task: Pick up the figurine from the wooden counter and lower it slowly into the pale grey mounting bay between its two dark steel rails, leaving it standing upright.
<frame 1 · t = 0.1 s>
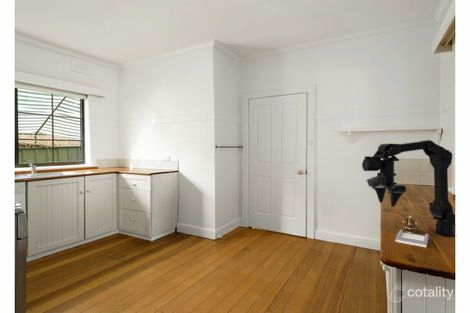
hand: (386, 204, 121), 15 cm above the table, tool pointing down, fingers open, 9 cm apart
figurine: (410, 232, 126), on the table
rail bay: (412, 240, 115), on the table
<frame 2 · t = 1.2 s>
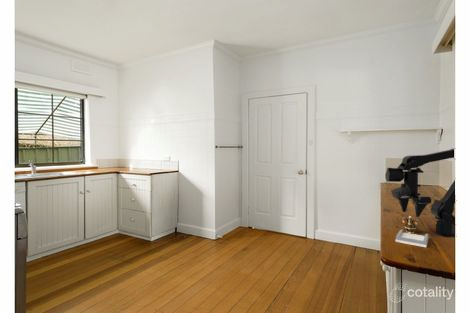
hand: (410, 214, 126), 9 cm above the table, tool pointing down, fingers open, 9 cm apart
nothing on the table moved.
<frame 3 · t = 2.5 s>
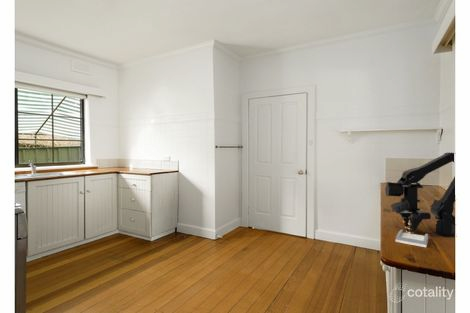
hand: (410, 229, 126), 2 cm above the table, tool pointing down, fingers closed on figurine, 5 cm apart
figurine: (410, 232, 126), on the table, touching gripper
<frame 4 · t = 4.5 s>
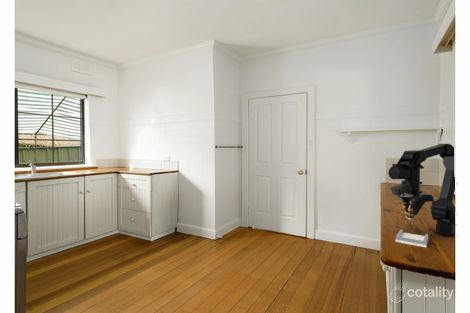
hand: (411, 213, 117), 11 cm above the table, tool pointing down, fingers closed on figurine, 4 cm apart
figurine: (410, 218, 118), point 9 cm above the table, touching gripper
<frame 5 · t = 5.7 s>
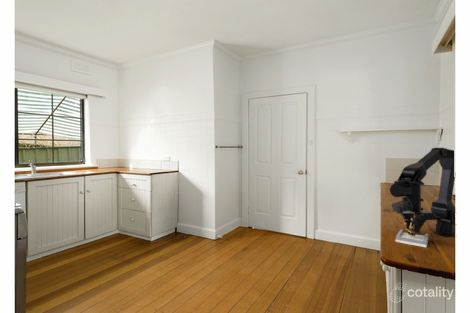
hand: (412, 230, 115), 4 cm above the table, tool pointing down, fingers closed on figurine, 4 cm apart
figurine: (411, 235, 116), point 2 cm above the table, touching gripper
when the fingers open (4 cm above the table, at t = 6.6 s): figurine stays where it is, resting on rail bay.
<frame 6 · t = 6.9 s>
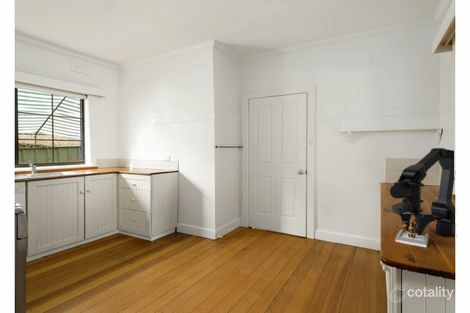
hand: (412, 232, 115), 4 cm above the table, tool pointing down, fingers open, 8 cm apart
figurine: (411, 237, 116), point 1 cm above the table, touching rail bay
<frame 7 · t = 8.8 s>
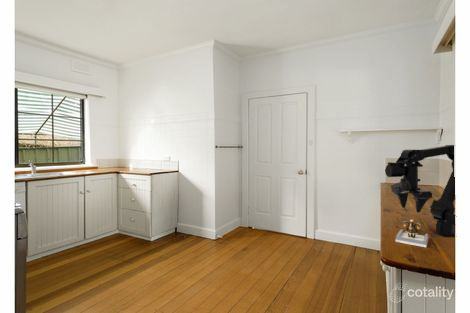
hand: (410, 209, 122), 12 cm above the table, tool pointing down, fingers open, 9 cm apart
nothing on the table moved.
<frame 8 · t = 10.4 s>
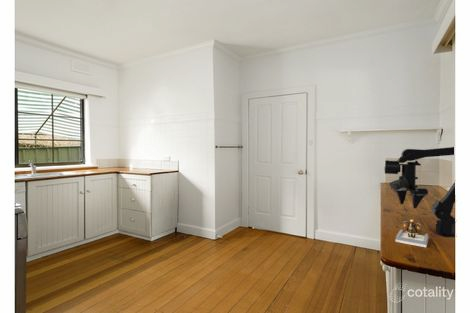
hand: (408, 206, 129), 12 cm above the table, tool pointing down, fingers open, 9 cm apart
nothing on the table moved.
at the end: figurine 0.6 cm off-centre on the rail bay, point 0.8 cm above the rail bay's base; figurine tilted 0°; the gripper is holding nothing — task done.
